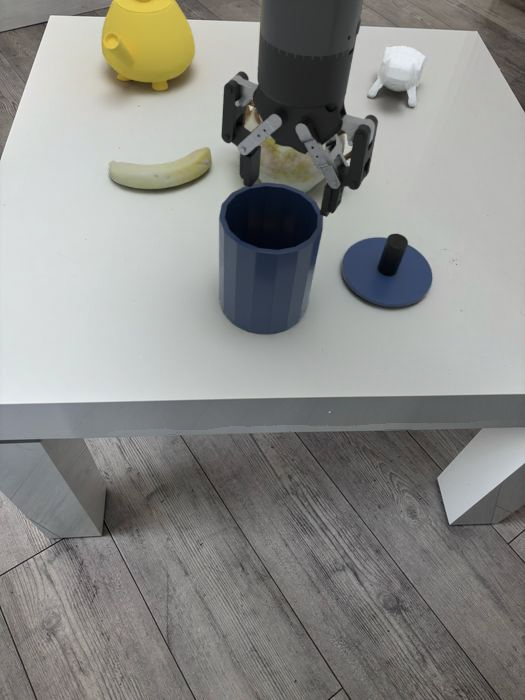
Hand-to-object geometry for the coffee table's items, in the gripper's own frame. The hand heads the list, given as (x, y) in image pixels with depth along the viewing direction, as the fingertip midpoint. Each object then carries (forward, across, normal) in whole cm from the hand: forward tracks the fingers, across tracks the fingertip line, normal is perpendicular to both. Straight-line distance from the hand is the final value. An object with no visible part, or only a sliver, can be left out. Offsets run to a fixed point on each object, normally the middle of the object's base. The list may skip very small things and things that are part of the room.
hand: (288, 196), depth 55 cm
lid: (+15, +11, +11) cm, 22 cm away
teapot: (+16, -42, +33) cm, 56 cm away
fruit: (+16, -25, +13) cm, 33 cm away
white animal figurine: (+16, -3, +53) cm, 56 cm away
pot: (+16, -1, -1) cm, 16 cm away
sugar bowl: (+16, -9, +22) cm, 29 cm away
